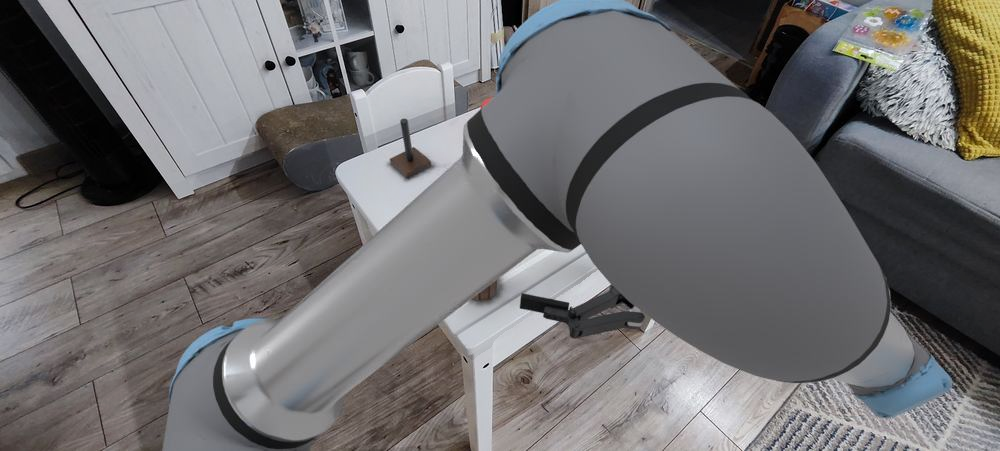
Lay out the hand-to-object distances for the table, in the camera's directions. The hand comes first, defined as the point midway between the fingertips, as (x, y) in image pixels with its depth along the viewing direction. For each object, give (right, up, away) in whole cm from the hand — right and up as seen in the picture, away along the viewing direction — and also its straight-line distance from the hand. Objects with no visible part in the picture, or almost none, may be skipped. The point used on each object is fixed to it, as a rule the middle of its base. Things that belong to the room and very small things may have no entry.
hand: (529, 262), depth 67 cm
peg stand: (-23, +18, +27) cm, 40 cm away
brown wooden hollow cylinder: (-7, -5, +7) cm, 11 cm away
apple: (-5, +27, +36) cm, 45 cm away
